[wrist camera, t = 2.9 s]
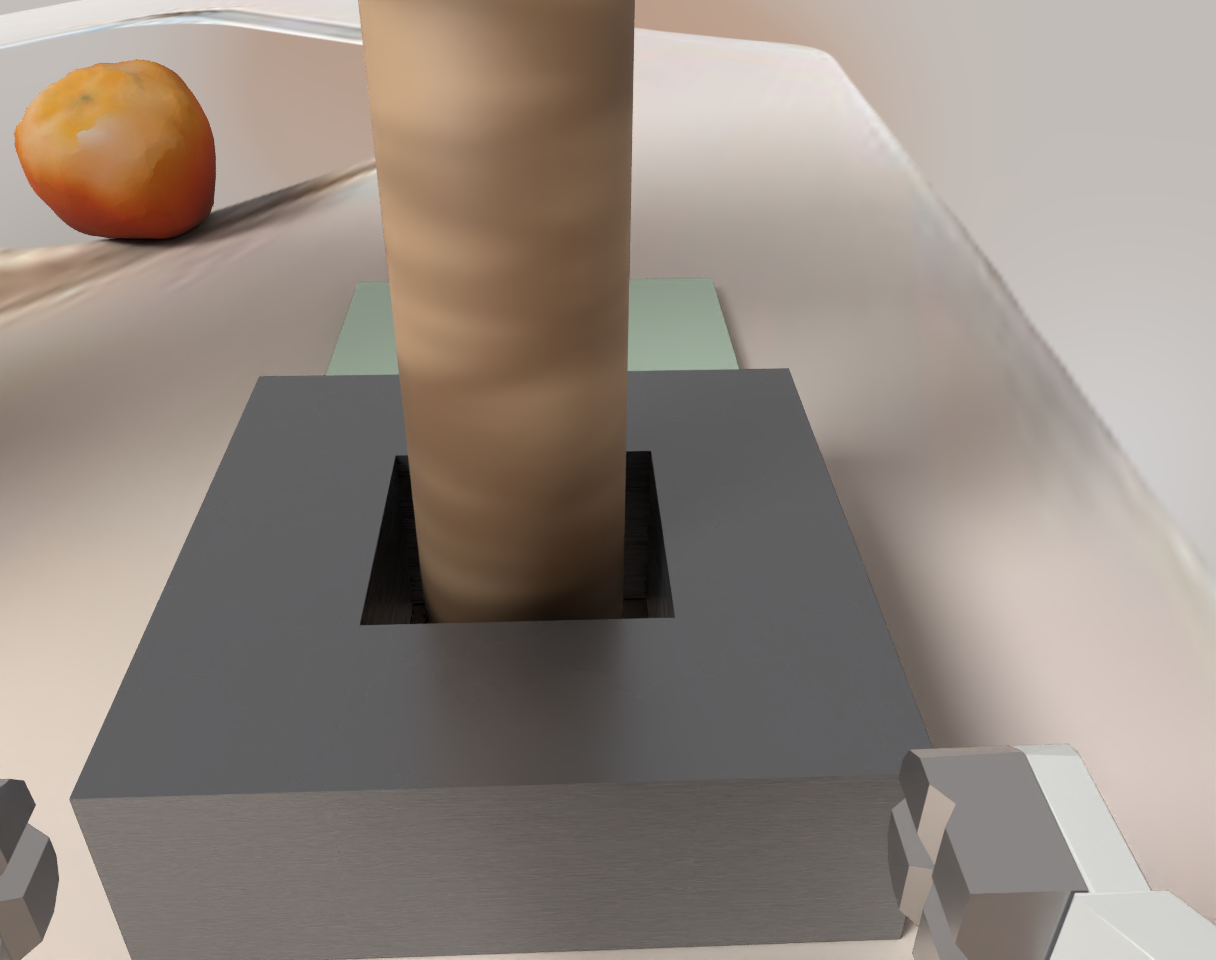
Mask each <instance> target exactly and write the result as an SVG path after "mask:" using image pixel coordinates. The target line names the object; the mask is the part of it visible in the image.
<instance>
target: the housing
mask: <svg viewBox="0 0 1216 960" xmlns="http://www.w3.org/2000/svg"><path fill="white" fill-rule="evenodd" d="M625 598H646V601H647V610H648V618H641V619H600V620H559V621H518V622H477V623H436V624H410V619H411V613H412V606H413V604H414V603H424V597H423V588H422V579H421V570H420V561H419V551H418V542H417V533H416V524H415V515H414V506H413V497H412V487H411V478H410V469H409V460H408V451H407V442H406V433H405V423H404V414H403V405H402V396H401V387H400V378H399V374H395V375H330V376H264V377H259V379H258V381H257V383H256V385H255V388H254V390H253V392H252V394H251V396H250V399H249V401H248V403H247V405H246V408H245V410H244V412H243V414H242V416H241V419H240V421H239V423H238V425H237V428H236V430H235V432H234V434H233V436H232V439H231V441H230V443H229V445H228V448H227V450H226V452H225V454H224V456H223V459H222V461H221V463H220V465H219V468H218V470H217V472H216V474H215V476H214V479H213V481H212V483H211V485H210V488H209V490H208V492H207V494H206V496H205V499H204V501H203V503H202V505H201V508H200V510H199V512H198V514H197V516H196V519H195V521H194V523H193V525H192V528H191V530H190V532H189V534H188V536H187V539H186V541H185V543H184V545H183V548H182V550H181V552H180V554H179V556H178V559H177V561H176V563H175V565H174V568H173V570H172V572H171V574H170V576H169V579H168V581H167V583H166V585H165V588H164V590H163V592H162V594H161V596H160V599H159V601H158V603H157V605H156V608H155V610H154V612H153V614H152V616H151V619H150V621H149V623H148V625H147V628H146V630H145V632H144V634H143V636H142V639H141V641H140V643H139V645H138V648H137V650H136V652H135V654H134V656H133V659H132V661H131V663H130V665H129V668H128V670H127V672H126V674H125V676H124V679H123V681H122V683H121V685H120V688H119V690H118V692H117V694H116V696H115V699H114V701H113V703H112V705H111V708H110V710H109V712H108V714H107V716H106V719H105V721H104V723H103V725H102V728H101V730H100V732H99V734H98V736H97V739H96V741H95V743H94V745H93V748H92V750H91V752H90V754H89V756H88V759H87V761H86V763H85V765H84V768H83V770H82V772H81V774H80V776H79V779H78V781H77V783H76V785H75V788H74V790H73V792H72V794H71V796H70V799H69V800H70V802H71V805H72V807H73V810H74V813H75V815H76V818H77V820H78V823H79V826H80V828H81V831H82V833H83V836H84V838H85V841H86V844H87V846H88V849H89V851H90V854H91V856H92V859H93V862H94V864H95V867H96V869H97V872H98V874H99V877H100V880H101V882H102V885H103V887H104V890H105V892H106V895H107V898H108V900H109V903H110V905H111V908H112V910H113V913H114V916H115V918H116V921H117V923H118V926H119V928H120V931H121V934H122V936H123V939H124V941H125V944H126V947H127V949H128V952H129V954H130V957H131V959H132V960H336V959H363V958H390V957H418V956H445V955H472V954H500V953H527V952H554V951H582V950H609V949H636V948H664V947H691V946H718V945H746V944H773V943H800V942H828V941H855V940H882V939H900V938H901V934H902V930H903V926H904V923H905V919H906V915H905V914H904V913H902V912H901V911H900V910H899V907H898V904H897V900H896V897H895V893H894V890H893V886H892V881H891V876H890V870H889V865H888V841H887V833H888V827H889V821H890V816H891V810H892V809H893V808H894V807H895V806H896V805H897V804H899V803H900V802H901V801H902V800H903V799H904V798H905V795H904V792H903V789H902V786H901V783H900V780H899V774H900V769H901V765H902V761H903V758H904V757H905V755H906V754H907V752H908V751H909V750H913V749H933V747H932V744H931V742H930V739H929V736H928V734H927V731H926V728H925V726H924V723H923V720H922V718H921V715H920V713H919V710H918V707H917V705H916V702H915V699H914V697H913V694H912V692H911V689H910V686H909V684H908V681H907V678H906V676H905V673H904V671H903V668H902V665H901V663H900V660H899V657H898V655H897V652H896V650H895V647H894V644H893V642H892V639H891V636H890V634H889V631H888V628H887V626H886V623H885V621H884V618H883V615H882V613H881V610H880V607H879V605H878V602H877V600H876V597H875V594H874V592H873V589H872V586H871V584H870V581H869V579H868V576H867V573H866V571H865V568H864V565H863V563H862V560H861V558H860V555H859V552H858V550H857V547H856V544H855V542H854V539H853V536H852V534H851V531H850V529H849V526H848V523H847V521H846V518H845V515H844V513H843V510H842V508H841V505H840V502H839V500H838V497H837V494H836V492H835V489H834V487H833V484H832V481H831V479H830V476H829V473H828V471H827V468H826V466H825V463H824V460H823V458H822V455H821V452H820V450H819V447H818V444H817V442H816V439H815V437H814V434H813V431H812V429H811V426H810V423H809V421H808V418H807V416H806V413H805V410H804V408H803V405H802V402H801V400H800V397H799V395H798V392H797V389H796V387H795V384H794V381H793V379H792V376H791V374H790V371H789V368H788V369H723V370H657V371H628V377H627V429H626V481H625V534H624V586H623V599H625Z"/></svg>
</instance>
